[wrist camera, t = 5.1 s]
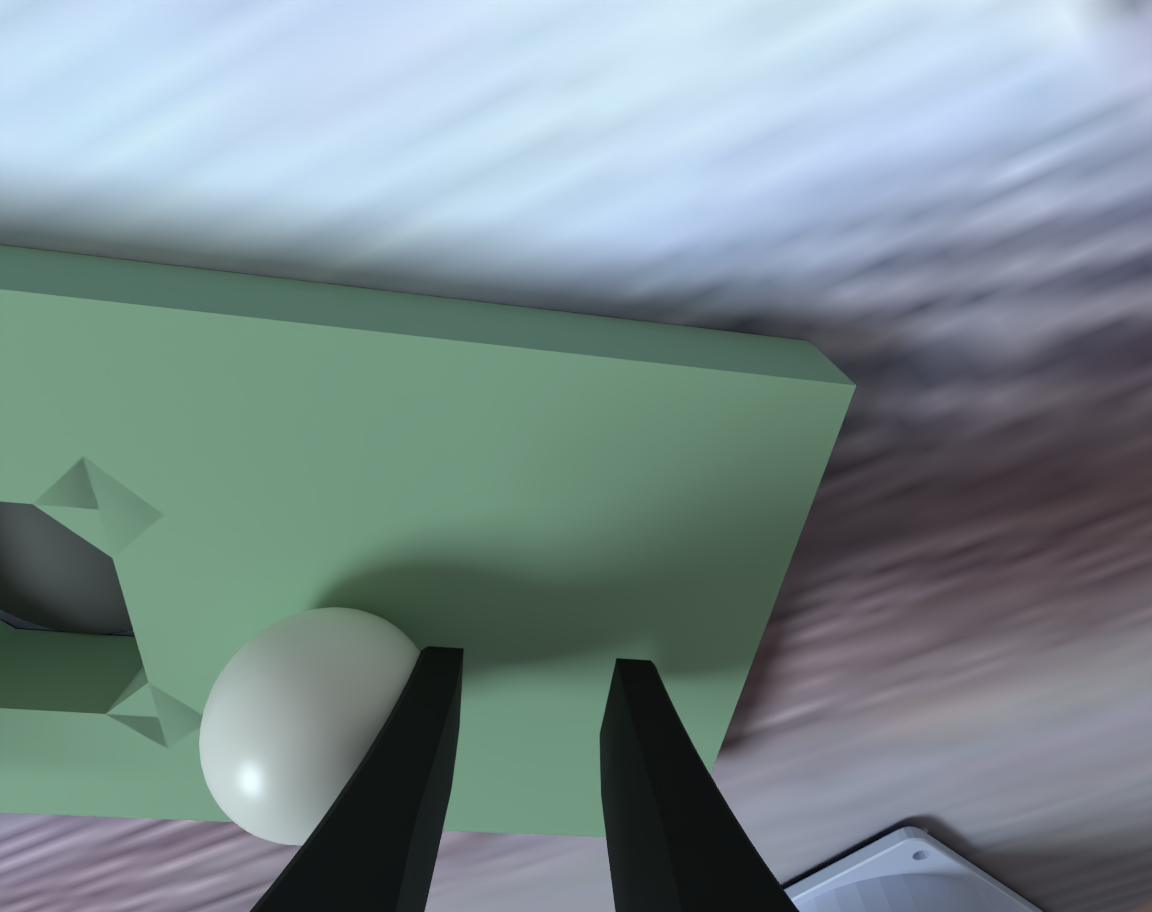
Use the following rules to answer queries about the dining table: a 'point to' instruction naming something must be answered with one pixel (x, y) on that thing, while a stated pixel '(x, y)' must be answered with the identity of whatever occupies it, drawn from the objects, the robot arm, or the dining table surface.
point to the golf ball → (300, 717)
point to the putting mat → (378, 517)
